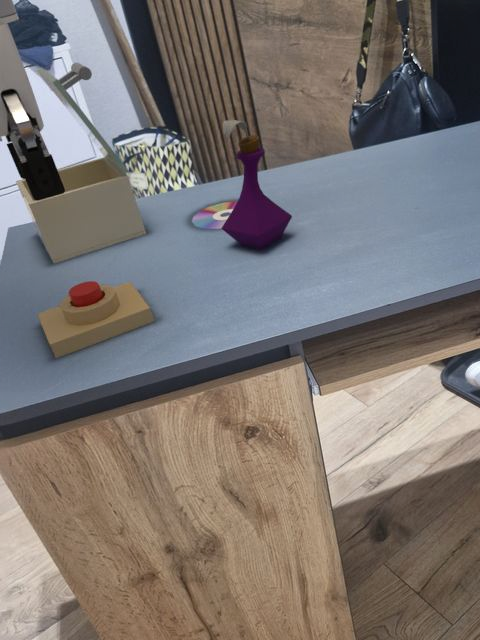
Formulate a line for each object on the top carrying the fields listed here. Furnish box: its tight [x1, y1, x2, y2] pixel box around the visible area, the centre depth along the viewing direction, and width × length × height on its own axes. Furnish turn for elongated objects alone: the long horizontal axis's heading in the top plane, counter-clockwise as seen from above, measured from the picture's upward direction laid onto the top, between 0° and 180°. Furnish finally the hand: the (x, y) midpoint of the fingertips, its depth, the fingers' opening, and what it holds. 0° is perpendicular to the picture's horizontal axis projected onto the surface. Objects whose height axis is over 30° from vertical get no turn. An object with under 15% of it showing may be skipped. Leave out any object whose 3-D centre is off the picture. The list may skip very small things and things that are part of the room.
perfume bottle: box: [221, 119, 293, 250], centre depth 90 cm, size 8×8×18 cm
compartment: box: [15, 156, 147, 264], centre depth 102 cm, size 15×14×10 cm
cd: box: [191, 200, 238, 230], centre depth 105 cm, size 11×11×1 cm
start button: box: [68, 280, 104, 307], centre depth 78 cm, size 4×4×2 cm
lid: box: [36, 62, 129, 175], centre depth 97 cm, size 15×14×6 cm
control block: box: [37, 281, 155, 359], centre depth 79 cm, size 12×9×4 cm
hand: (42, 185), depth 70 cm, fingers open, 8 cm apart
